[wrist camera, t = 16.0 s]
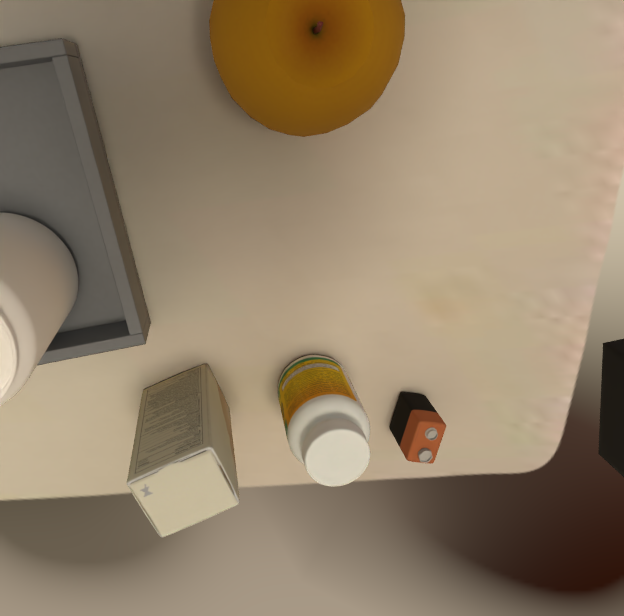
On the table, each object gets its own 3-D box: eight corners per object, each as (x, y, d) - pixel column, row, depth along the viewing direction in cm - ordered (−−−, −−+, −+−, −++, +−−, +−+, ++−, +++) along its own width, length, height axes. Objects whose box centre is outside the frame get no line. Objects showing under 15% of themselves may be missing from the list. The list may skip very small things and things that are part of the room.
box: (167, 435, 43) (155, 542, 33) (141, 388, 42) (119, 485, 31) (233, 408, 43) (242, 506, 33) (210, 359, 42) (211, 447, 31)
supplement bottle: (360, 388, 45) (399, 462, 36) (304, 429, 45) (328, 512, 36) (320, 338, 43) (350, 403, 34) (261, 381, 43) (275, 456, 34)
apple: (383, -24, 35) (462, -75, 24) (351, 142, 38) (409, 162, 27) (219, -64, 33) (226, -140, 22) (199, 114, 36) (196, 124, 25)
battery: (388, 428, 46) (408, 466, 42) (399, 390, 45) (421, 424, 41) (413, 431, 47) (436, 469, 42) (425, 393, 46) (450, 428, 41)
